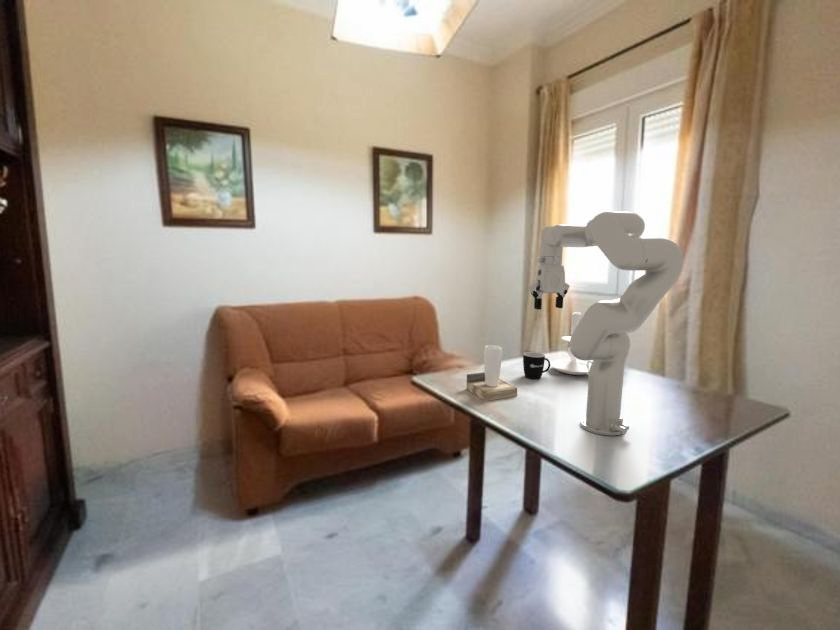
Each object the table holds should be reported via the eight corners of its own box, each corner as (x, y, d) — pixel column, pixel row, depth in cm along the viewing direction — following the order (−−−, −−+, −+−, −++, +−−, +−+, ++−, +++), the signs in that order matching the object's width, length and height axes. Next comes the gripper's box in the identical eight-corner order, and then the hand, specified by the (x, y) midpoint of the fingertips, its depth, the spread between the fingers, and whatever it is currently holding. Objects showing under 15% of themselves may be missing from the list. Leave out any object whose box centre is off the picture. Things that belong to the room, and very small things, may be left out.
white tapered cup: (479, 383, 158) (480, 346, 155) (493, 381, 161) (494, 344, 158) (490, 388, 152) (491, 349, 149) (504, 386, 155) (505, 348, 152)
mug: (526, 380, 172) (527, 357, 170) (519, 374, 180) (520, 352, 179) (553, 379, 173) (555, 356, 171) (545, 373, 182) (546, 351, 180)
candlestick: (572, 383, 168) (576, 317, 164) (540, 367, 191) (543, 309, 187) (614, 380, 173) (619, 315, 169) (578, 364, 197) (581, 307, 192)
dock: (517, 396, 153) (517, 380, 152) (484, 400, 148) (485, 385, 147) (496, 384, 166) (497, 370, 165) (466, 389, 161) (466, 374, 160)
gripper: (538, 261, 140) (535, 310, 142) (577, 261, 146) (574, 308, 149) (524, 261, 147) (522, 308, 149) (562, 261, 153) (560, 306, 155)
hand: (548, 308), depth 149 cm, fingers open, 9 cm apart
